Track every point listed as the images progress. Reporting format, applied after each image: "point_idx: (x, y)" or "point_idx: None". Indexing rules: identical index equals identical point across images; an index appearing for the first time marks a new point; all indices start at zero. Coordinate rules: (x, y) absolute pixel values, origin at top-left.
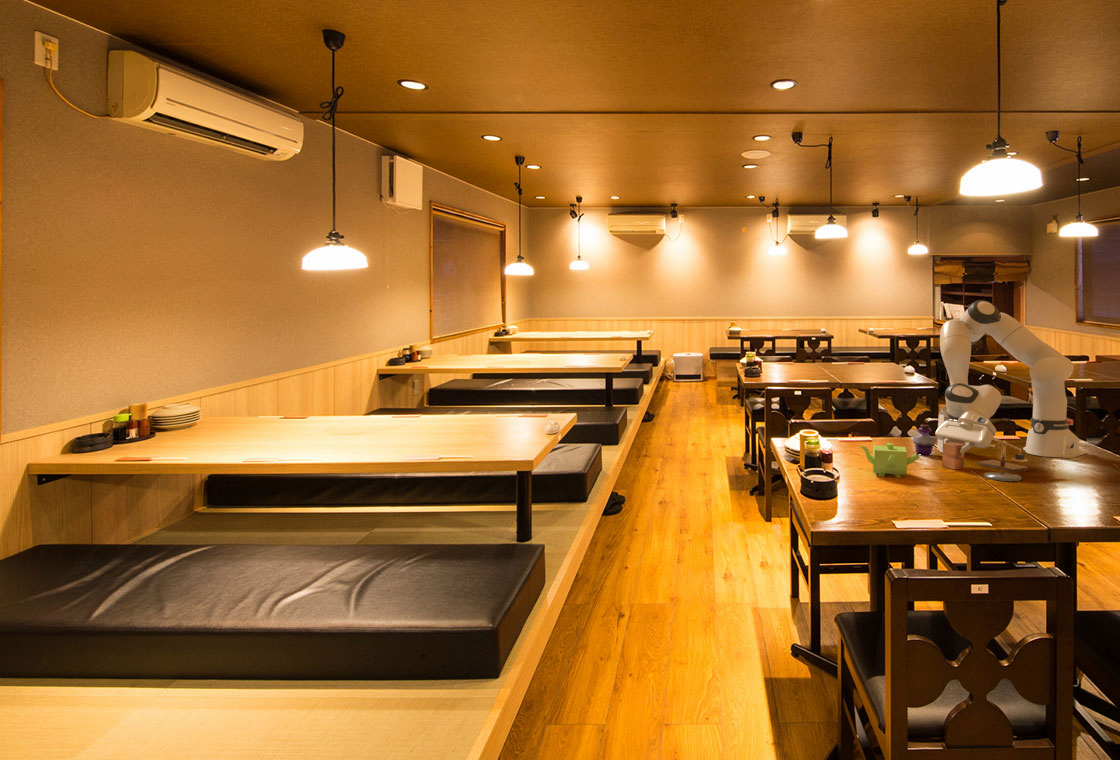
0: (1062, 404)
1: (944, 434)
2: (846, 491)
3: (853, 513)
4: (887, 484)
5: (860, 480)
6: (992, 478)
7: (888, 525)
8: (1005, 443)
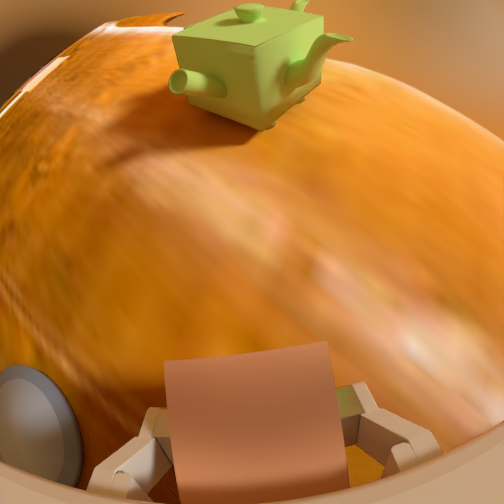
0: None
1: (482, 452)
2: None
3: (109, 35)
4: None
5: None
6: (23, 366)
7: (66, 53)
8: None
